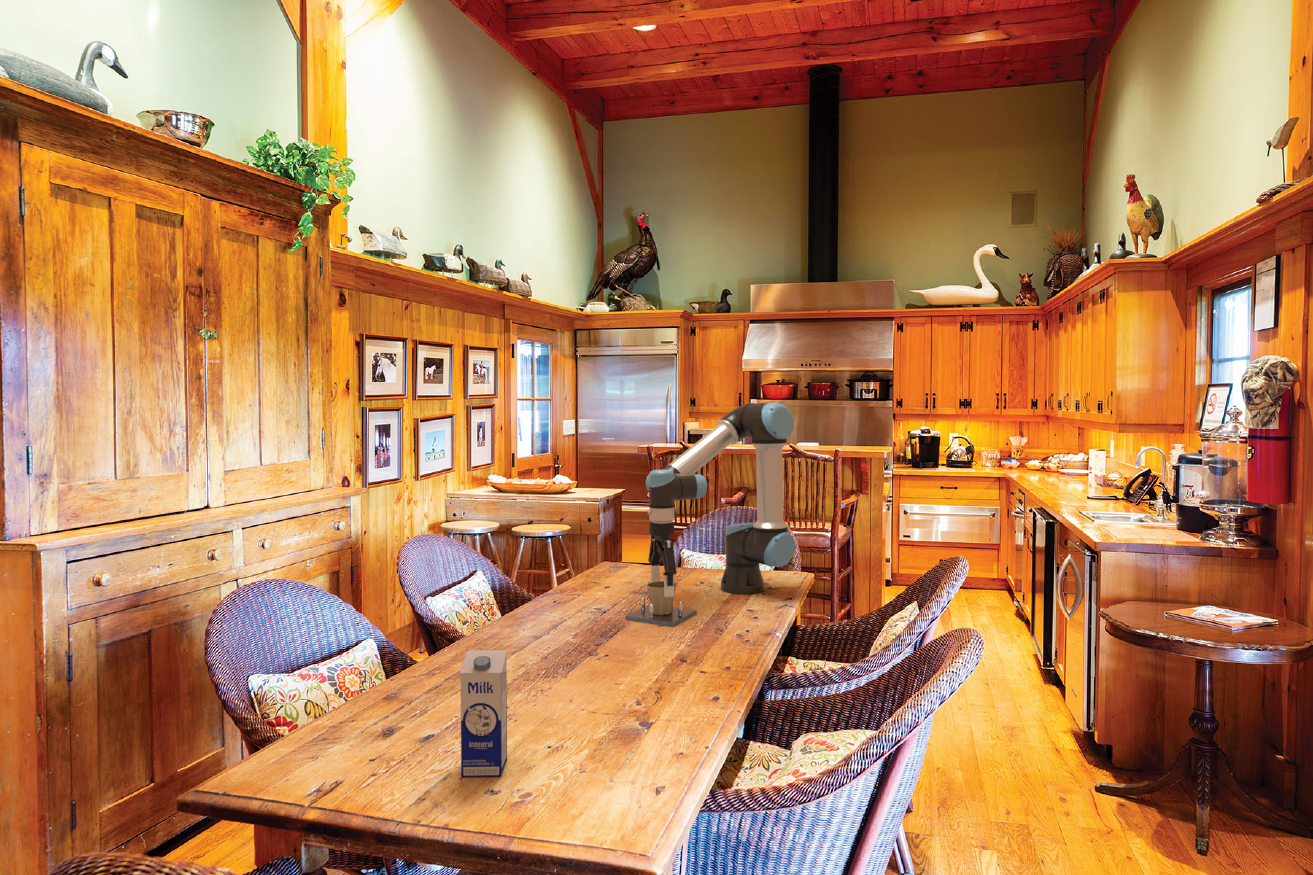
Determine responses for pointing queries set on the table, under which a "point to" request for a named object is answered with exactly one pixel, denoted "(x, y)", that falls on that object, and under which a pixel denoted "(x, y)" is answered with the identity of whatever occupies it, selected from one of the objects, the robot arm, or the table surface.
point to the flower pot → (660, 598)
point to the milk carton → (484, 713)
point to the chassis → (648, 615)
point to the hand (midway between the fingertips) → (662, 591)
